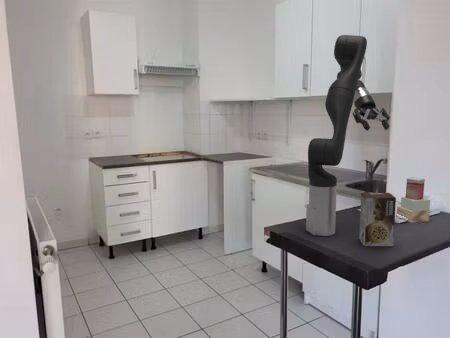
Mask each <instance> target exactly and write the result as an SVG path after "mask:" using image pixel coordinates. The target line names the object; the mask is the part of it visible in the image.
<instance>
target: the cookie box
mask: <svg viewBox="0 0 450 338" xmlns="http://www.w3.org/2000/svg"><path fill="white" fill-rule="evenodd" d="M396 201H397V197H396V196H394V194H392V193H390V192H361V193H360V211H359V212H360V215H359V216H360V218H359V237H358V238H359V241H360V242H361V244H362V245H363V247H394V245H395V243H394V241H395V223H396V222H395V221H396V220H395V219H396Z"/></svg>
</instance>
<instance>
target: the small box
mask: <svg viewBox="0 0 450 338" xmlns="http://www.w3.org/2000/svg"><path fill="white" fill-rule="evenodd" d="M425 181H426V180H425V178H421V177H414V176H411V177H407V178H406V184H405V185H406V187H405V197H406V198H410V199H415V200H420V199H423V198H424V192H425Z"/></svg>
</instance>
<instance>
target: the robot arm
mask: <svg viewBox="0 0 450 338" xmlns="http://www.w3.org/2000/svg"><path fill="white" fill-rule="evenodd" d="M367 47H368V41H367V38H366V37H365V36H363V35H354V34H353V35H352V34H341V35H339V36H338V37H337V38H336V40H335V43H334V49H333V56H334V59H335V61H336V62H337V64H338V65H339V67H340V68H339V69H340V71H338V72H337V73H336V79H335V80H334V81H333V82H332V83H331V84H330V86H329V87H328V91H327V94H326V98H325V104H324V105H325V106H324V107H325V110H326V112H327V115H328V116H329V118H330V120H331V124H332V127H333V134H332V136H331V138H325V137H324V138H321V137H319V138H318V137H317V138H315V137H314V138H312V139H310V141H309V144H308V147H307V166H308V170H307V171H308V172H307V174H308V181H309V183H308V184H309V185H308V187H309V188H308V204H306V207H305V208H306V210H305V212H306V218H305V219H306V221H305V230H306V231H307V232H308V233H310V235H312V236H320V237H328V236H333V235H335V233H336V213H337V189H338V188H337V185H338V184H337V183H338V179H337V177H336V175H333V174H332V173H330V172H328V171H327V170H325V169H324V167H323V166H329V167H337V166H338V165H340V163H341V161H342V158H343V153H344V148H345V142H346V135H347V128H348V124H349V119H350V115H351V112H352V111H351V110H352V108H353V106H354V107H355V109H354V110H353V112H352V117H353V118H354V121H355V123H356V124H361V125H362V126H363V128H364V129H363V130H365V131H367V132H369V130H370V129H371V126H370V124H369V121H368V120H371V121H372V120H374V121H376V122H378V123H380V124H381V126H382V128H383V129H384V130H385V131H388V129H389V128H390V124H389V120H390V119H391V117H390V115H389V114H388V112H387V111H386V109H385V108H384V107H383V108H381V109H379V108H377V106H376V102H375V100H374V99H373V96H372V95H371V94H370V92H369V89H367V87H366V86H365V84H364V82H363V81H362V80H360V79H361V78H362V76H363V74H362V69H361V68H362V65H363V62H364V59H365V55H366V52H367Z"/></svg>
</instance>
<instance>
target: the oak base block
mask: <svg viewBox="0 0 450 338" xmlns="http://www.w3.org/2000/svg"><path fill="white" fill-rule="evenodd" d="M430 212H431V210H426V211H415V212H413V211H411V210H408V209H405V208H403V207H401V205H397V206H396V215H397V214H399V215H401V216H404V217H406V218H408V221H407V222H409V223H412V224H413V223H422V222H423V223H424V222H429V221H430Z"/></svg>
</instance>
